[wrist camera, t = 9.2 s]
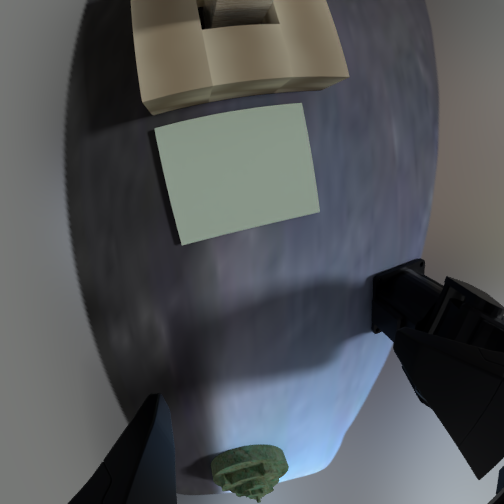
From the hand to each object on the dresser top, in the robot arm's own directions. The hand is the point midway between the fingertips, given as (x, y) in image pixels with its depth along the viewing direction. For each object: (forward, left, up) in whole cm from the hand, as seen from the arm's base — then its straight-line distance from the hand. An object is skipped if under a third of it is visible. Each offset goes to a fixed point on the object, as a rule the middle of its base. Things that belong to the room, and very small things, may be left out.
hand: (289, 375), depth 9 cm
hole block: (-3, -17, -12) cm, 21 cm away
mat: (-2, -6, -12) cm, 13 cm away
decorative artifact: (+5, +29, -12) cm, 32 cm away
